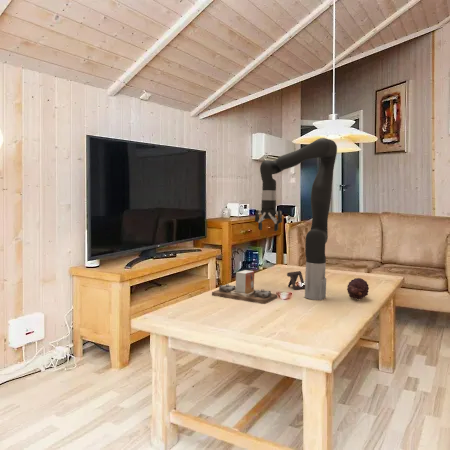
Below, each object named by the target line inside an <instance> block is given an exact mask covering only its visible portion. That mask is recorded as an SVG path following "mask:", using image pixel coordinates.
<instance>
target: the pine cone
mask: <svg viewBox="0 0 450 450" xmlns="http://www.w3.org/2000/svg"><path fill="white" fill-rule="evenodd" d="M369 289H370V287H369V284H368V281H366V280H364V279H363V278H361V277H358V278H353V279H351V280H350V281H349V282H348V284H347V289H346V290H347V294H348V296H349V297H350V298H351V299H355V300H357V299H358V300H359V299H360V300H362V299H364V298H366V297H367V296H368V295H369Z"/></svg>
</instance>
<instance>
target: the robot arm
mask: <svg viewBox="0 0 450 450" xmlns="http://www.w3.org/2000/svg"><path fill="white" fill-rule="evenodd" d="M337 153H338V145H337V143H336V142H335V141H334V140H332V139H330V138H325V137H320V138H318V139H316V140H314V141H312V142H310V143H308V144H307V145H305V146H303V147H301V148H299V149H297V150H294V151H291V152H289V153H286V154H283V155H280V156H278V157H277V159H275V160H272V159H271V160H270V159H265V160H263V161H262V162H261V163H260V167H259V172H260V177H261V180H262V186H261V188H262V191H261V204H260V205H261V209H260V210H259V209H257V210H255V216H254V222H256V223H258V224H257V225H258V226H257V227H258V229H259V231H263V221H264V220H272V221H273V223H274V225H273V226H274V227H273V228H274V229H273V231H274V232H277V231H279V224H281V223H283V211H282V210H277V180H275V179H274V178H273V175H277V174H278V173H280V172H283V171H284V170H288V169H291V168H293V167H296V166H298V165H300V164H302V162H304V161H306V160H310V159H316V158H318V159H319V167H318V168H319V169H318V172H317V174H316V176H315V178H314V181H313V183H312V184H311V185H312V186H311V191H310V192H311V193H310V196H311V197H310V205H311V212H312V213H311V214H312V217H311V218H312V220H311V226H310V230H308V232H307V233H306V235H305V244H304V246H305V248H304V249H305V251H304V252H305V253H304V255H305V280H304V284H305V288H304V298H305V299H308V300H313V301H314V300H316V301H317V300H318V301H319V300H321V301H323V300H324V299H326V297H327V296H326V295H327V278H326V269H327V268H326V267H327V265H326V264H327V263H326V262H327V257H326V244H327V242H328V239H329V238H328V237H329V234H328V233H329V231H328V222H329V220H328V219H329V213H330V206H331V201H332V200H331V199H332V191H333V190H332V189H333V179H334V168H335V163H336V159H337ZM276 216H277V217H276Z"/></svg>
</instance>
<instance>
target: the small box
mask: <svg viewBox="0 0 450 450" xmlns="http://www.w3.org/2000/svg"><path fill="white" fill-rule="evenodd" d="M235 288H236V292H237V293H244V294H249V293H251V292H253V291H254V289H255V271H253V270H247V269H244V270H240V271H237V272H235Z"/></svg>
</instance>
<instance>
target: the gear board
mask: <svg viewBox="0 0 450 450" xmlns="http://www.w3.org/2000/svg"><path fill="white" fill-rule="evenodd" d="M211 295H212V296H214V297H219V298H225V299H233V300H239V301H244V302H245V301H246V302H250V303H256V304H262V305H263V304H264V305H265V304H268V303H270V302H271V301H272V302H273V301H274V300H275V299H277V298H278V294H277V293H272V291H271V290H265V289H256V288H254V291H253V292H251V293H249V294H244V293H237V292H236V285H230V283H229V284H228V283H226V284H225V285H222V284H221V285H219V287H218V289H216V290H214V291H211Z"/></svg>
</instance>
